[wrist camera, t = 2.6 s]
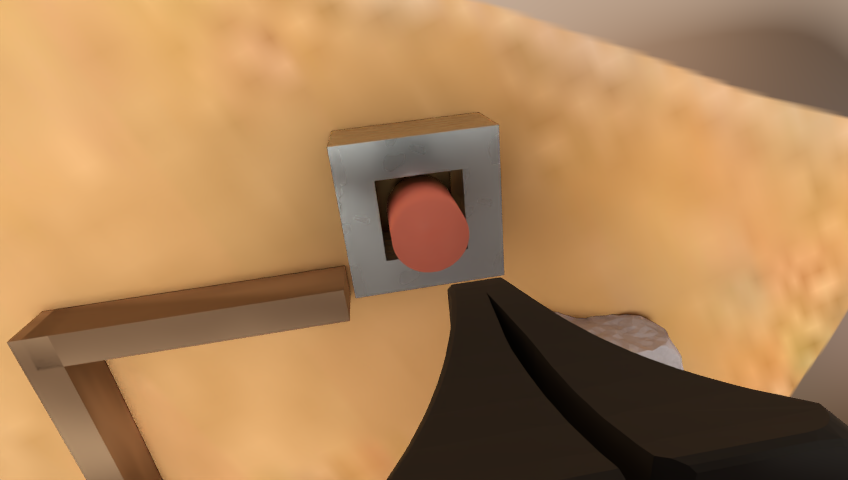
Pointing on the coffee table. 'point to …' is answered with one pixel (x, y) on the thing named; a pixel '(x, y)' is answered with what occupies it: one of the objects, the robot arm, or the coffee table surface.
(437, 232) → the button
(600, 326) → the stone block
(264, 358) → the coffee table surface
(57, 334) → the pallet pocket
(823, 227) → the coffee table surface
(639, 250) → the coffee table surface
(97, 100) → the coffee table surface
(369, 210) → the silver square button housing
